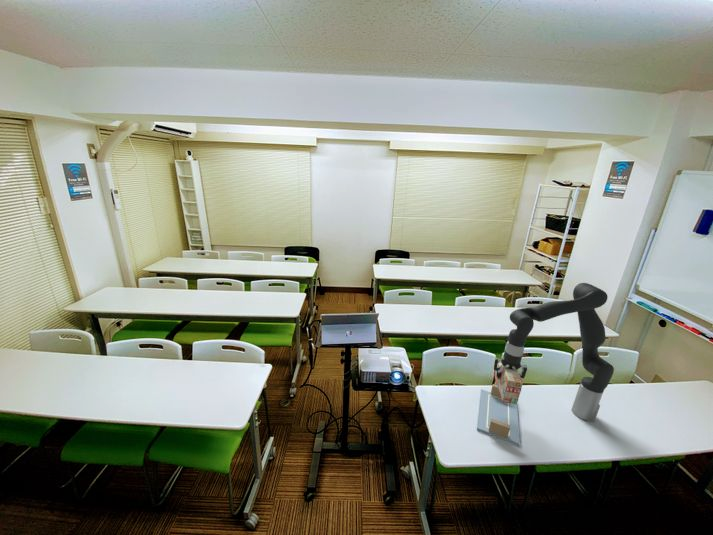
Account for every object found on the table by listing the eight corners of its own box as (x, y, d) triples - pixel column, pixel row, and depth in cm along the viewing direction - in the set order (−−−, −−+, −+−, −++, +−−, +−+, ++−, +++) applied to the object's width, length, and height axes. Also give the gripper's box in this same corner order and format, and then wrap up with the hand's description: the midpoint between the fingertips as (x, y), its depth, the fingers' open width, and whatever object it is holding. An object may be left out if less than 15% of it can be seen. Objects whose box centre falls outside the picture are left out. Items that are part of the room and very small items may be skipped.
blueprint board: (516, 402, 156) (519, 391, 154) (519, 445, 130) (522, 433, 128) (480, 390, 163) (483, 380, 161) (476, 429, 138) (479, 417, 135)
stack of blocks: (493, 373, 153) (497, 353, 149) (505, 375, 152) (510, 355, 148) (502, 402, 133) (508, 379, 129) (517, 405, 132) (523, 382, 128)
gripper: (530, 351, 136) (522, 380, 141) (497, 343, 142) (490, 371, 147) (531, 360, 129) (523, 390, 134) (497, 350, 135) (490, 380, 140)
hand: (506, 380), depth 140 cm, fingers closed on stack of blocks, 7 cm apart
